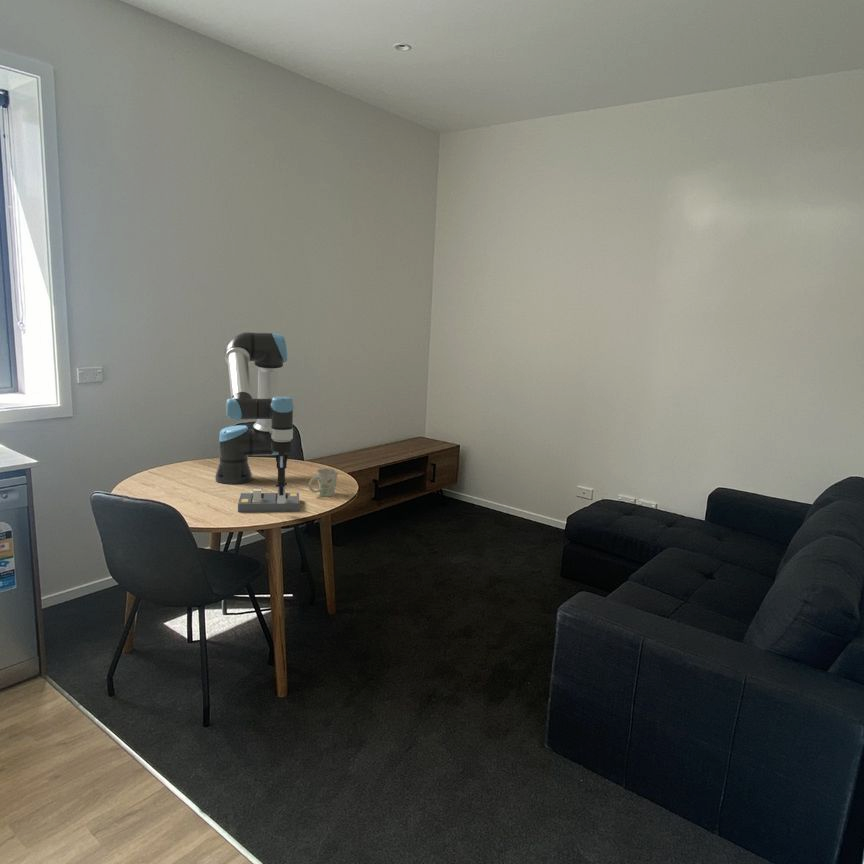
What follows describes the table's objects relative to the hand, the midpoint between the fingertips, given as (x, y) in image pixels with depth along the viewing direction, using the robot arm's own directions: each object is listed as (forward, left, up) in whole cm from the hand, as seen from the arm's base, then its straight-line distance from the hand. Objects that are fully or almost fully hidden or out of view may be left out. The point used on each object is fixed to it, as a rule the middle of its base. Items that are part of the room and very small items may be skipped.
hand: (281, 502), depth 224 cm
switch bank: (-10, -4, -4) cm, 12 cm away
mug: (-23, +16, -5) cm, 29 cm away
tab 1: (-8, -9, -3) cm, 12 cm away
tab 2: (-7, 0, -3) cm, 8 cm away
